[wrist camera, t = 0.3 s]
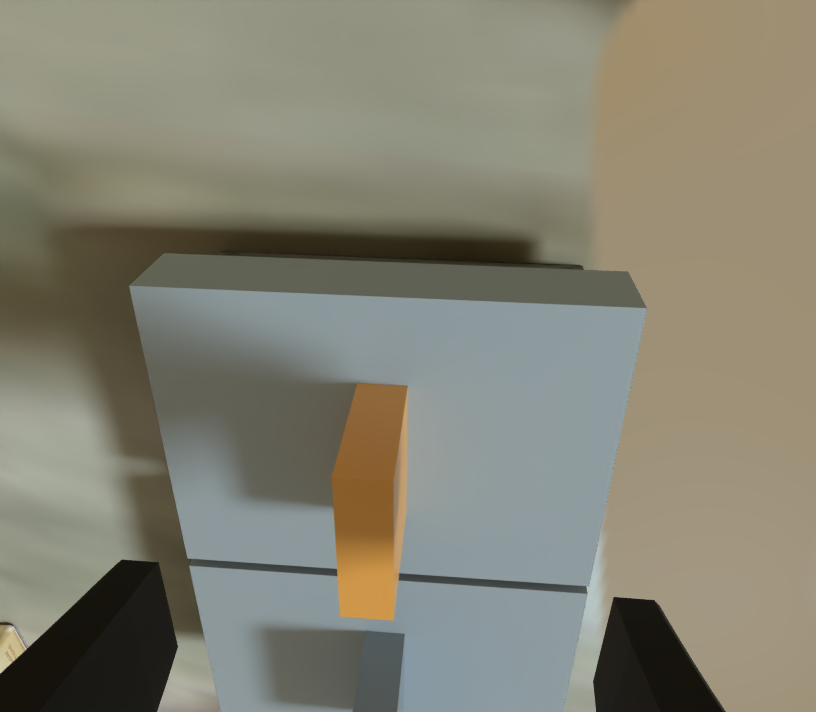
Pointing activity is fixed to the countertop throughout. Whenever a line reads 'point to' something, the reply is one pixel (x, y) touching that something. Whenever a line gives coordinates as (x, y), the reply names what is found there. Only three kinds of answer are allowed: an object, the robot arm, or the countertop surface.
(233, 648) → the lid segment
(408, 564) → the tabbed lid segment
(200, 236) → the countertop surface
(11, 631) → the coffeecake box
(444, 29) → the countertop surface
